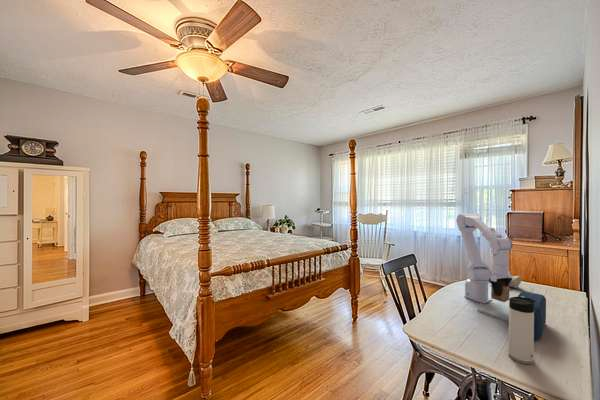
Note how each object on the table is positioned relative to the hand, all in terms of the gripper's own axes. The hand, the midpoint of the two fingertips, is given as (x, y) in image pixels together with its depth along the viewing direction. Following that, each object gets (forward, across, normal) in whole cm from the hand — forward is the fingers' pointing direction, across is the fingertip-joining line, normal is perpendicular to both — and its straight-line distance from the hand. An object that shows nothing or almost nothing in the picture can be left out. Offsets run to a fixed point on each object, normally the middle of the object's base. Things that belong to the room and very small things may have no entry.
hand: (500, 294), depth 118 cm
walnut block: (+2, 0, 0) cm, 2 cm away
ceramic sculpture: (+9, +40, +13) cm, 43 cm away
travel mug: (+9, -32, -18) cm, 38 cm away
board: (+8, 0, 0) cm, 8 cm away
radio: (+9, -7, -12) cm, 16 cm away
